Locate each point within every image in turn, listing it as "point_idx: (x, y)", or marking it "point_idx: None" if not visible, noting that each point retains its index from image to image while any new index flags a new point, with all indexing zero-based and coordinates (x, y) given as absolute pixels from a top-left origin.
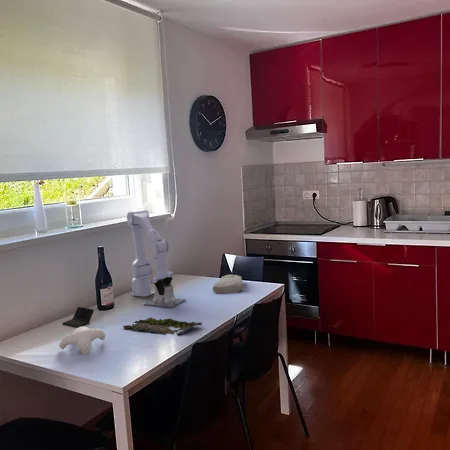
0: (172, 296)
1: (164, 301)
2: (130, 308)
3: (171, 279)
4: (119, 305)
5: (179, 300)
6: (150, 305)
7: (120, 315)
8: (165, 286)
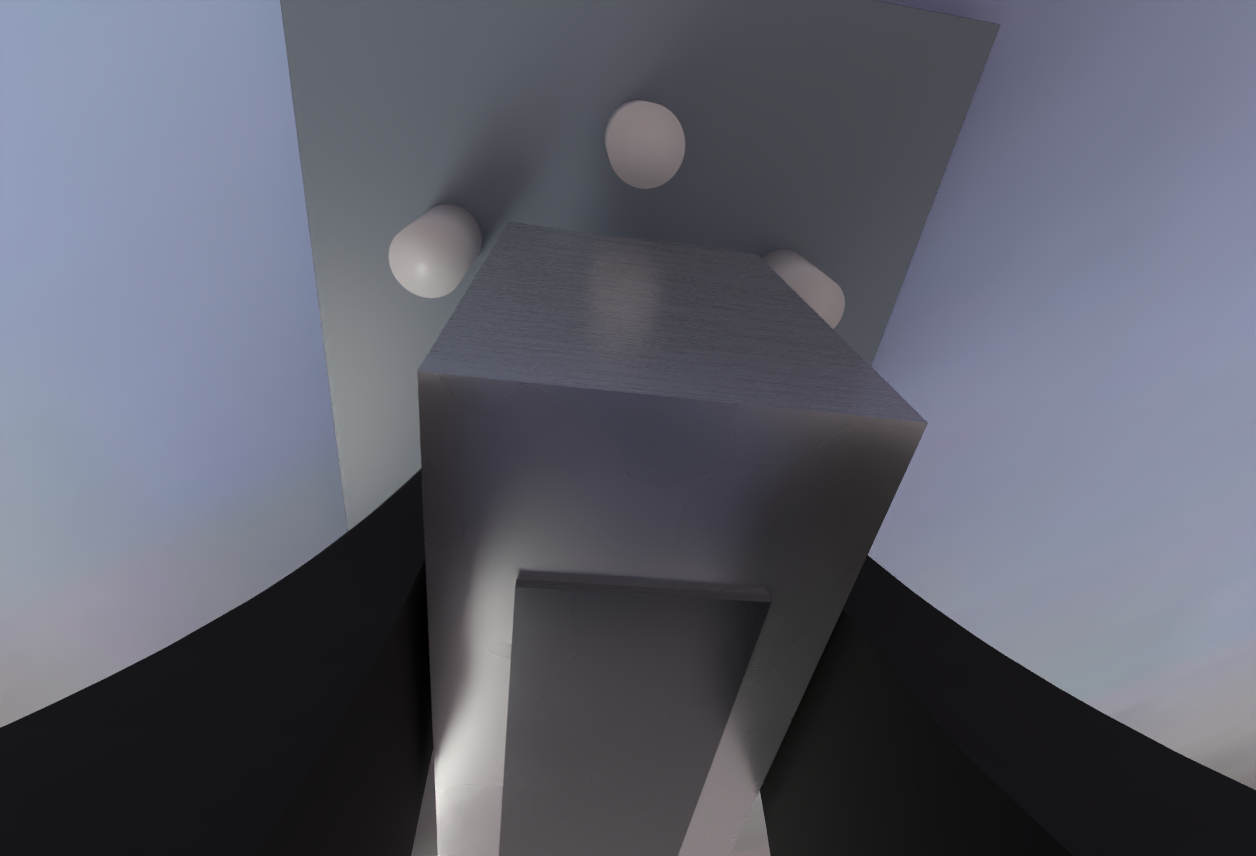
0: (582, 232)
1: None
2: None
3: (29, 815)
4: (760, 824)
5: (440, 59)
6: None
7: (1156, 669)
8: (777, 594)
